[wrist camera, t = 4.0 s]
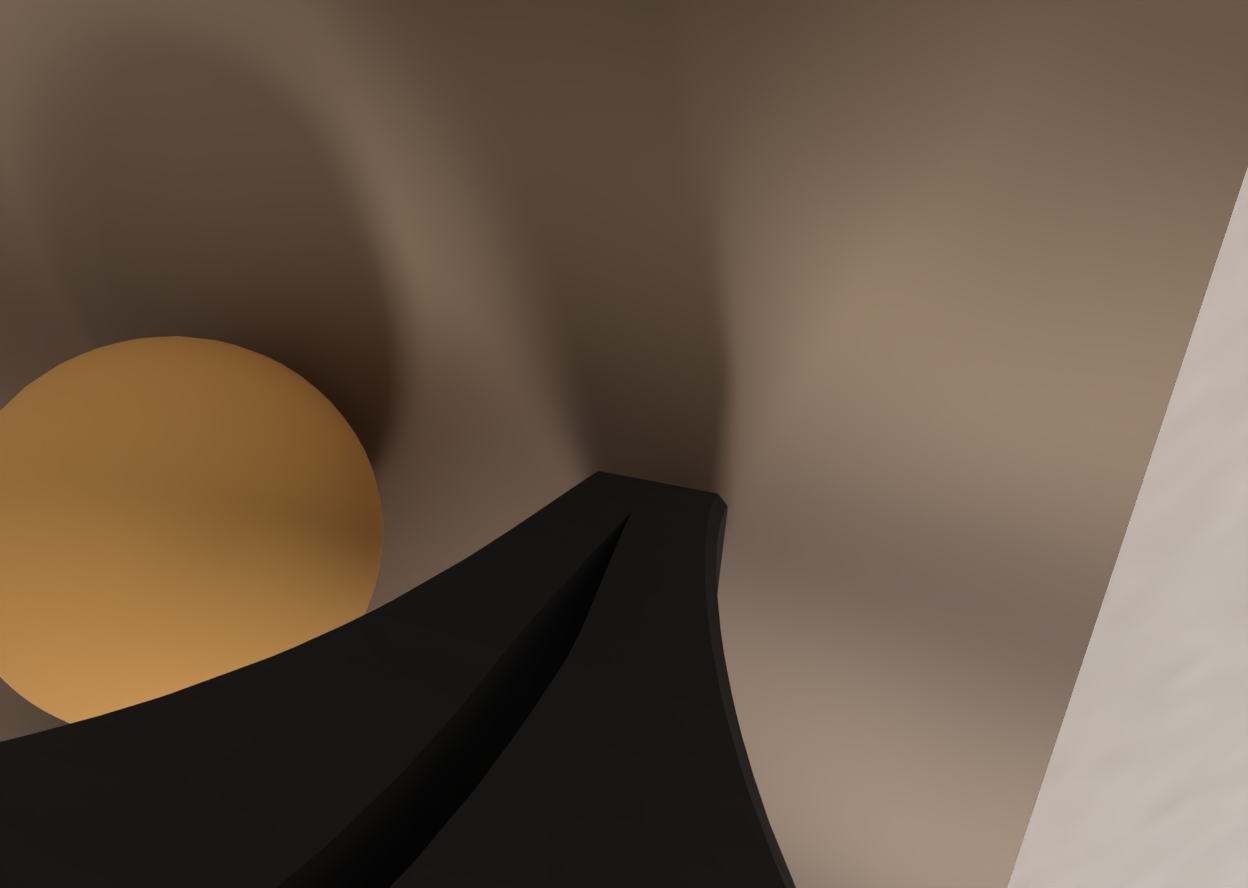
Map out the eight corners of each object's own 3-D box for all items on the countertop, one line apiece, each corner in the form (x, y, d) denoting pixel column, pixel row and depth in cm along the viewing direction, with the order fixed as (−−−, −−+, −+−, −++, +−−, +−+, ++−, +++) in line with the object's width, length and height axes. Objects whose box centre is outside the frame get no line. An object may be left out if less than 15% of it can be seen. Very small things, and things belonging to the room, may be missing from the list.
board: (961, 904, 16) (959, 1029, 14) (-391, 556, 21) (-508, 616, 20) (1302, -217, 9) (1380, -234, 7) (-824, -300, 14) (-1061, -320, 13)
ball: (451, 615, 13) (270, 879, 10) (164, 551, 14) (-93, 774, 11) (438, 309, 11) (207, 506, 8) (106, 256, 12) (-232, 413, 9)
